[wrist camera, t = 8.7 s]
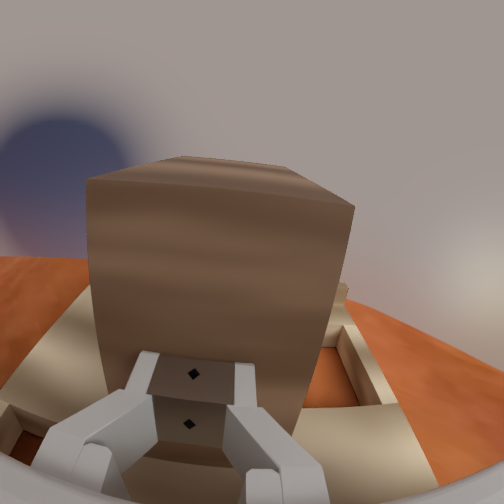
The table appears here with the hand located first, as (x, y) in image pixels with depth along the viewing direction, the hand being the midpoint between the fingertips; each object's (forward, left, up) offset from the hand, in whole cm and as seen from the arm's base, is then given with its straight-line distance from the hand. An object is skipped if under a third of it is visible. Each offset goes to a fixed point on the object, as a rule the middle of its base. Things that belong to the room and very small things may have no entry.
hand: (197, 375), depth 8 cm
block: (-2, +6, -5) cm, 8 cm away
